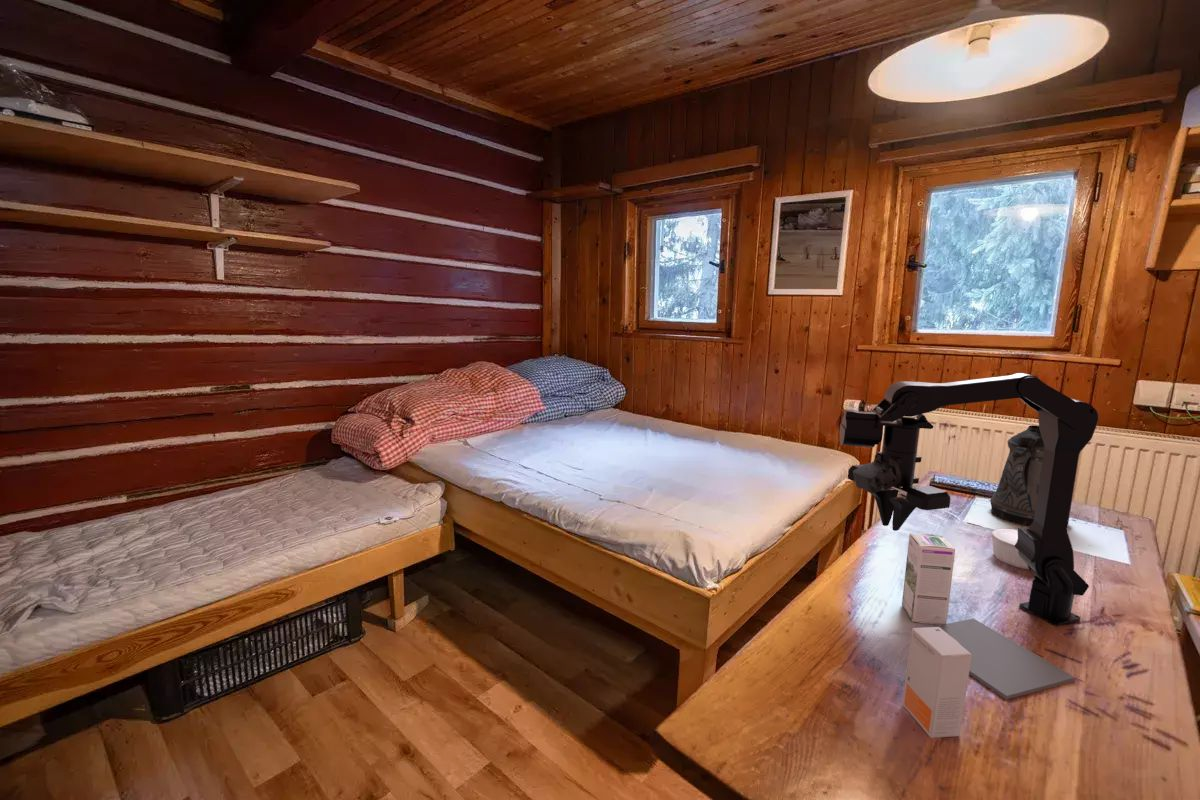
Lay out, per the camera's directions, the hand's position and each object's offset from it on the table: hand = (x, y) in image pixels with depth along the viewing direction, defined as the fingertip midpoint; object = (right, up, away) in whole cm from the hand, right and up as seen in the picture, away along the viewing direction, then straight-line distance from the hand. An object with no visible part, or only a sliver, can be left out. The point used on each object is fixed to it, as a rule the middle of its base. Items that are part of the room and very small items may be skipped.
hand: (890, 527), depth 103 cm
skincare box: (-12, -19, -31) cm, 38 cm away
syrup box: (+2, -15, -6) cm, 16 cm away
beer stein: (+58, -7, +40) cm, 71 cm away
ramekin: (+37, -11, +16) cm, 42 cm away
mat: (+6, -16, -18) cm, 25 cm away
